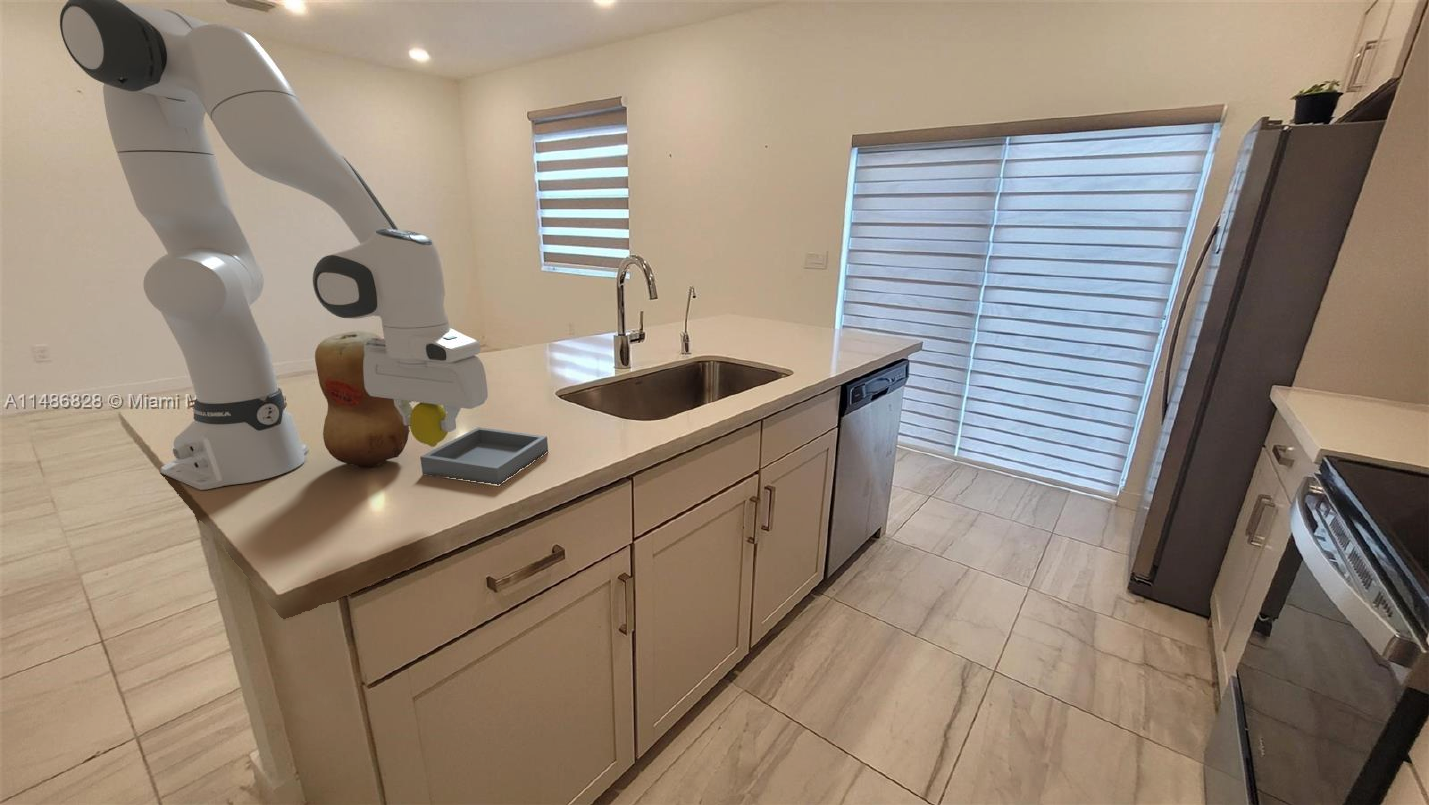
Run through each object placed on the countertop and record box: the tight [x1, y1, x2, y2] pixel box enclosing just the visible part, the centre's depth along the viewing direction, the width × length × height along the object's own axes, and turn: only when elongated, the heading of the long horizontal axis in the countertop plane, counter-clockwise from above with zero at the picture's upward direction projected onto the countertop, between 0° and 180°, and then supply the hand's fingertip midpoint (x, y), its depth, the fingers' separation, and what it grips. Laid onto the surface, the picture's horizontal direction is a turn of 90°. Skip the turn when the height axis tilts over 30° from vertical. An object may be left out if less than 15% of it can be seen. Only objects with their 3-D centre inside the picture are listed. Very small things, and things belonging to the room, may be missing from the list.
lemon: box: [409, 402, 449, 448], centre depth 87 cm, size 6×6×8 cm
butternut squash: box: [314, 330, 411, 468], centre depth 100 cm, size 14×13×25 cm
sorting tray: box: [419, 426, 549, 485], centre depth 105 cm, size 16×16×4 cm
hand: (430, 427), depth 88 cm, fingers closed on lemon, 6 cm apart
